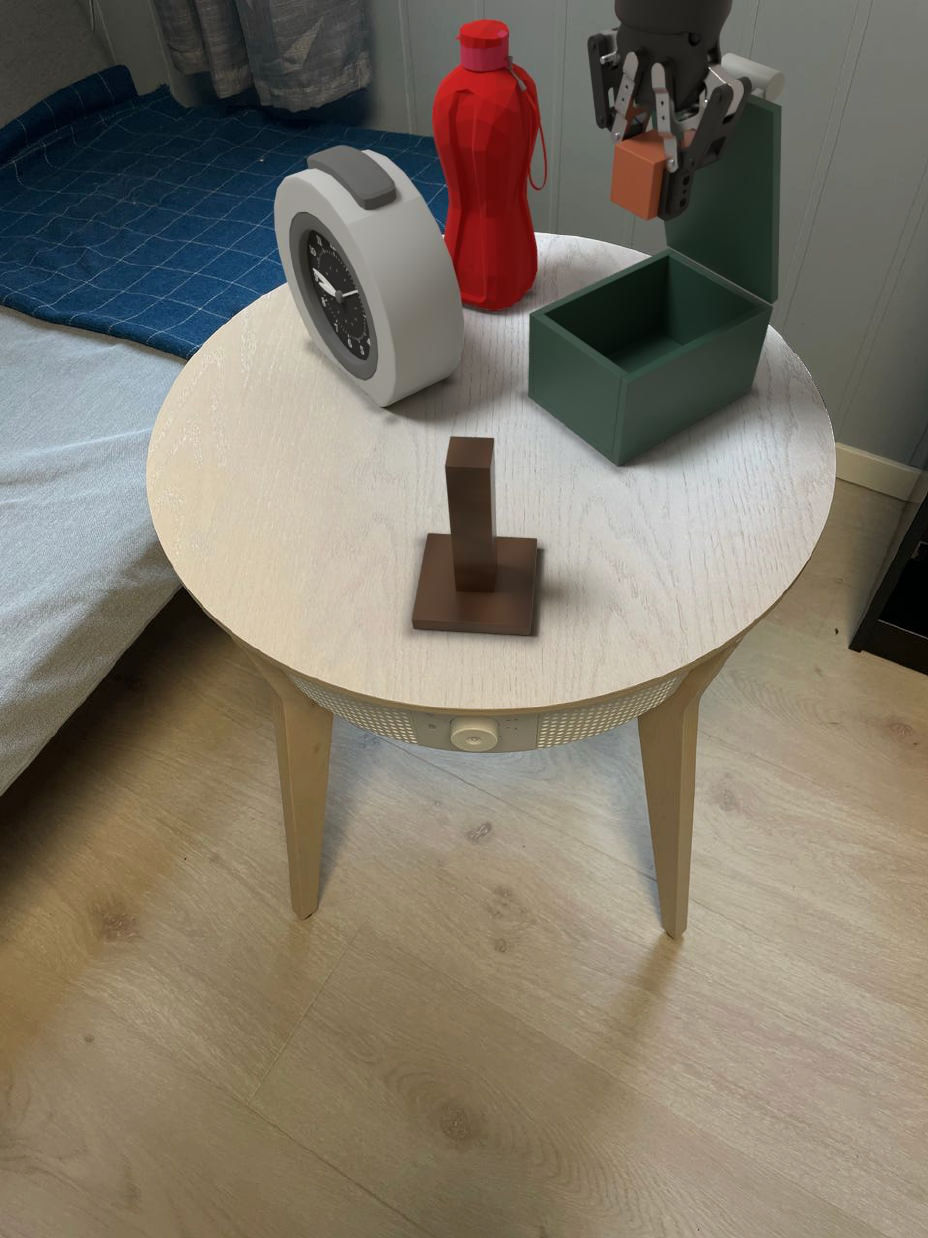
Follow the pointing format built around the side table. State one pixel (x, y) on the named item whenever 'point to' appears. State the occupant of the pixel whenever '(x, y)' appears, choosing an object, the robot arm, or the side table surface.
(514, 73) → the water bottle
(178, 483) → the side table surface
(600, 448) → the bin
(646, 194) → the block
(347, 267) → the alarm clock
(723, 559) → the side table surface
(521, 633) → the stand
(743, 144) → the bin lid
